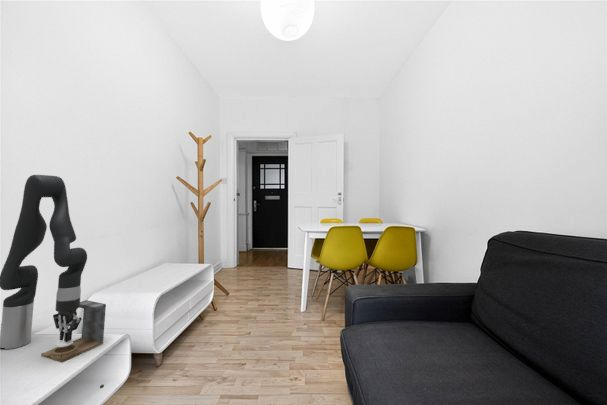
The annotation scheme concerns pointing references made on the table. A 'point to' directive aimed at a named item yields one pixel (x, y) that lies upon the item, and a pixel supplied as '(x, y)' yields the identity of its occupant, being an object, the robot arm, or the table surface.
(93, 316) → the base
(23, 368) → the table surface
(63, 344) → the chess piece
